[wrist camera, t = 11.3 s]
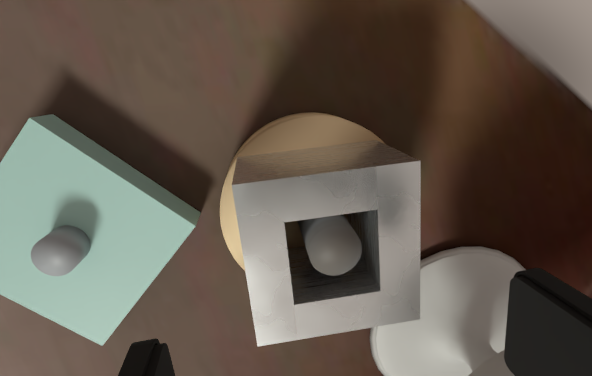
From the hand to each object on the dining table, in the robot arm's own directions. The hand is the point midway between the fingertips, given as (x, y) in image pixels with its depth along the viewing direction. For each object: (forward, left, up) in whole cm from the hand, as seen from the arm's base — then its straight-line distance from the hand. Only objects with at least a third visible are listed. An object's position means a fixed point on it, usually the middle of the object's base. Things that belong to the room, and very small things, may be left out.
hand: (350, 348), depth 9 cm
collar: (0, +1, -10) cm, 10 cm away
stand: (-9, -8, -12) cm, 17 cm away
